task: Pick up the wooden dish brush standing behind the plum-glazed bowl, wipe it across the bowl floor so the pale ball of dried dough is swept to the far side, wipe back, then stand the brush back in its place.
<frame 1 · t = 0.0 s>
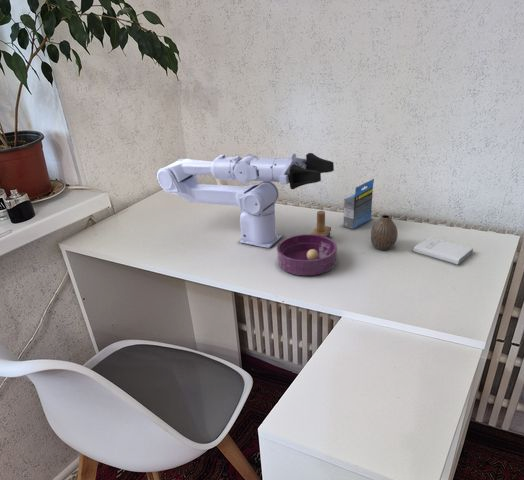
hand: (326, 171, 123), 22 cm above the table, tool horizontal, fingers open, 7 cm apart
brush: (320, 241, 142), on the table
dough ball: (312, 255, 131), point 2 cm above the table, touching bowl
hard drive: (442, 253, 133), on the table
tape cartridge: (357, 223, 150), on the table
bowl: (306, 262, 132), on the table
vase: (382, 247, 137), on the table
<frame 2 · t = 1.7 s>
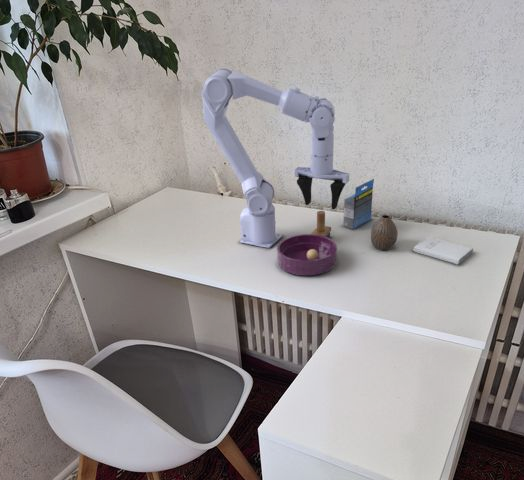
hand: (321, 205, 136), 10 cm above the table, tool pointing down, fingers open, 7 cm apart
nothing on the table moved.
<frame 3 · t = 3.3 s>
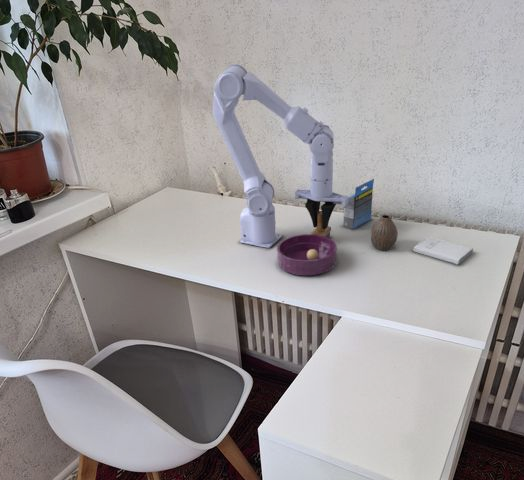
hand: (320, 226, 139), 4 cm above the table, tool pointing down, fingers closed on brush, 2 cm apart
brush: (320, 240, 142), on the table, touching gripper
everything else where it was.
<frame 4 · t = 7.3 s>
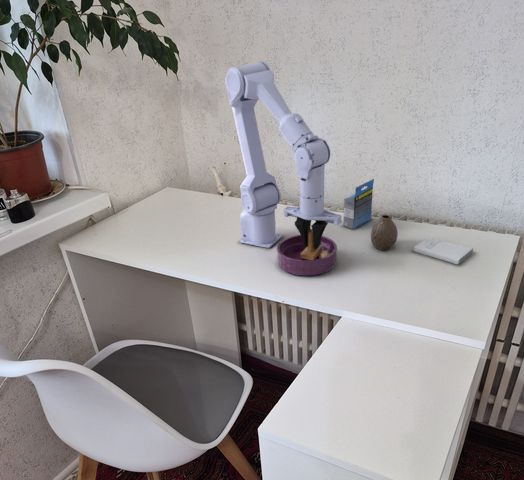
hand: (311, 246, 129), 5 cm above the table, tool pointing down, fingers closed on brush, 2 cm apart
brush: (311, 260, 131), point 1 cm above the table, touching dough ball, gripper
dough ball: (324, 256, 130), point 2 cm above the table, tilted 118°, touching bowl, brush
everything else where it was.
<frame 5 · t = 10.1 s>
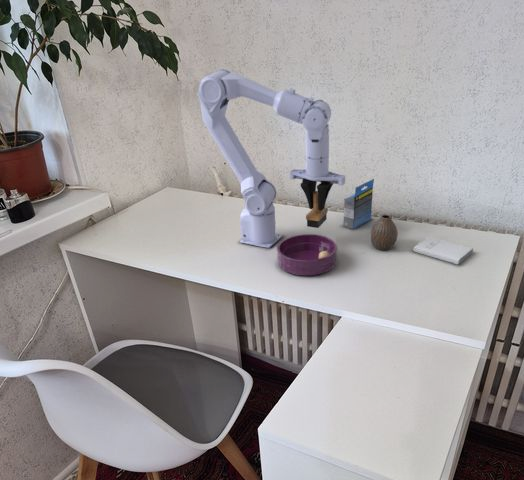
hand: (317, 208, 134), 10 cm above the table, tool pointing down, fingers closed on brush, 2 cm apart
brush: (316, 222, 137), point 6 cm above the table, touching gripper
dough ball: (324, 256, 130), point 2 cm above the table, tilted 118°, touching bowl
everything else where it was.
when the fingers open (4 cm above the table, at t = 12.1 s): brush stays where it is, on the table.
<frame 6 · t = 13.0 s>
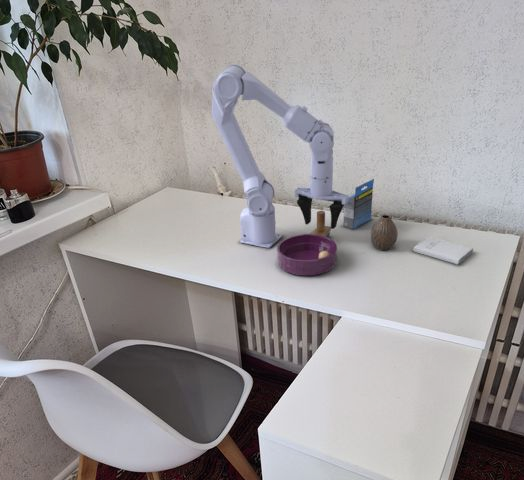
hand: (320, 225, 139), 5 cm above the table, tool pointing down, fingers open, 7 cm apart
brush: (320, 240, 142), on the table
everything else where it was.
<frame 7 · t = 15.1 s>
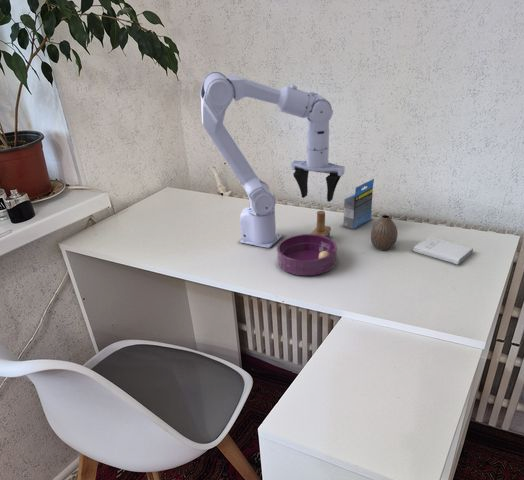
hand: (317, 198, 140), 10 cm above the table, tool pointing down, fingers open, 7 cm apart
nothing on the table moved.
at the end: dough ball moved 3.2 cm from its start; dough ball inside the target area in the bowl (4.5 cm from its centre), point 2.1 cm above the bowl's base; brush inside the target area (0.0 cm from its centre), on the table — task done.
